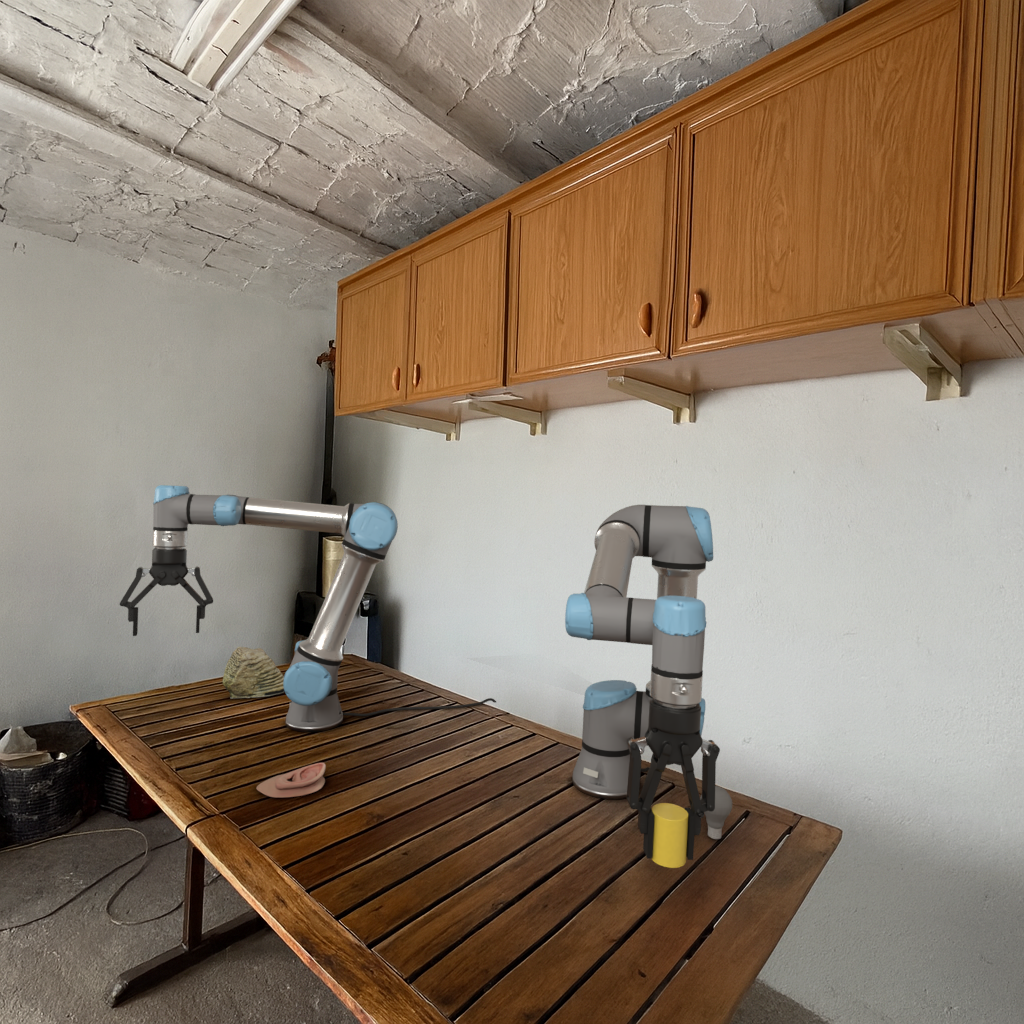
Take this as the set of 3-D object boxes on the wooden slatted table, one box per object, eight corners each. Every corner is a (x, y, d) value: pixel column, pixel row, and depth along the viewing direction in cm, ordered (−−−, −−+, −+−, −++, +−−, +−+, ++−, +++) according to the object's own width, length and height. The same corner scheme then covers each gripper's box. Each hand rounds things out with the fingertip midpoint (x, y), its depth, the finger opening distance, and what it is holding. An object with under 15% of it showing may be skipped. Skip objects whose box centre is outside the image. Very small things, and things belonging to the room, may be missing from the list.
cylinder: (657, 868, 92) (659, 821, 92) (644, 848, 97) (646, 803, 97) (692, 867, 93) (694, 819, 93) (677, 847, 98) (679, 802, 98)
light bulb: (693, 829, 126) (696, 780, 126) (722, 829, 127) (725, 780, 127) (705, 846, 121) (708, 794, 120) (735, 846, 121) (738, 794, 121)
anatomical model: (248, 775, 133) (279, 754, 144) (247, 794, 133) (278, 771, 144) (306, 783, 130) (332, 761, 142) (305, 802, 130) (332, 779, 142)
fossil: (218, 695, 195) (220, 647, 195) (278, 685, 208) (279, 640, 207) (228, 703, 189) (230, 653, 188) (289, 692, 201) (290, 645, 201)
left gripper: (108, 548, 147) (105, 639, 148) (225, 549, 158) (222, 633, 159) (112, 546, 154) (109, 632, 155) (224, 546, 165) (221, 627, 166)
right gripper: (619, 707, 91) (611, 867, 91) (746, 711, 91) (737, 870, 92) (609, 691, 98) (602, 838, 99) (726, 695, 99) (719, 842, 99)
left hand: (166, 633), depth 157 cm, fingers open, 13 cm apart
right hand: (667, 853), depth 95 cm, fingers closed on cylinder, 5 cm apart
